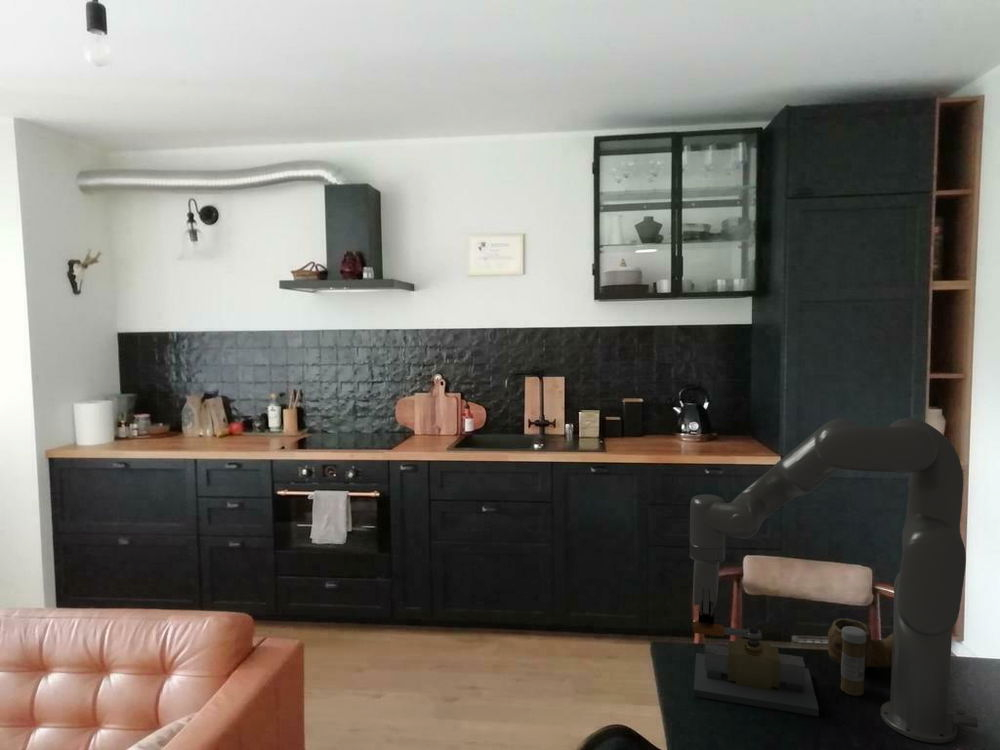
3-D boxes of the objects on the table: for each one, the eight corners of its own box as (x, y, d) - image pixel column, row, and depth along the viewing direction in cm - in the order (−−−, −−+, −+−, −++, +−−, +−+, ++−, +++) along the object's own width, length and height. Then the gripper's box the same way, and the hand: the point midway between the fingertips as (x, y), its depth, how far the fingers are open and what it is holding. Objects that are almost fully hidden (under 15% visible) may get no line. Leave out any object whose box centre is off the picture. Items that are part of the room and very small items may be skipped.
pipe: (914, 682, 144) (916, 638, 143) (835, 677, 147) (836, 633, 146) (896, 661, 153) (898, 619, 152) (822, 656, 155) (823, 615, 155)
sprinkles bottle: (852, 683, 144) (854, 624, 143) (869, 695, 139) (871, 633, 138) (834, 686, 143) (836, 626, 142) (851, 698, 138) (853, 636, 137)
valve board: (808, 675, 147) (808, 668, 147) (818, 716, 132) (818, 709, 132) (696, 659, 155) (696, 653, 155) (693, 696, 140) (693, 689, 140)
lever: (760, 634, 144) (761, 626, 144) (762, 641, 141) (762, 633, 140) (693, 626, 148) (693, 618, 147) (693, 633, 145) (693, 625, 144)
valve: (801, 677, 144) (802, 636, 143) (805, 695, 137) (806, 651, 136) (704, 663, 150) (705, 623, 149) (704, 679, 143) (704, 638, 142)
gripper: (691, 538, 155) (690, 614, 157) (687, 561, 141) (686, 643, 143) (725, 541, 153) (723, 618, 155) (724, 564, 139) (723, 648, 140)
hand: (706, 630), depth 149 cm, fingers closed
